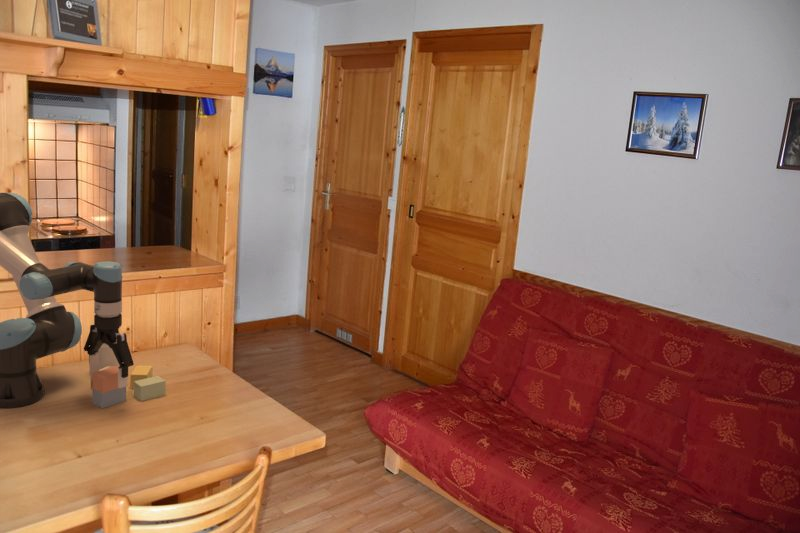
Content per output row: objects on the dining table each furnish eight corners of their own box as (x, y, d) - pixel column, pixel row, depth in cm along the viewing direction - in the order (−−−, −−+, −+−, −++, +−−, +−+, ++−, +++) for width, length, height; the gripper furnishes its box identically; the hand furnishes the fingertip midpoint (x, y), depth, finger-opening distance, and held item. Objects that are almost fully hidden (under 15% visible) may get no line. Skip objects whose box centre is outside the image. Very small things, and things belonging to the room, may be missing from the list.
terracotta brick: (92, 388, 197) (92, 373, 196) (115, 380, 204) (115, 365, 203) (103, 393, 195) (103, 377, 194) (126, 385, 202) (126, 370, 200)
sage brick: (133, 396, 206) (133, 381, 205) (157, 390, 212) (158, 375, 211) (140, 401, 203) (141, 386, 202) (165, 395, 208) (165, 380, 207)
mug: (119, 378, 218) (119, 346, 215) (90, 379, 215) (90, 347, 213) (124, 365, 229) (124, 334, 226) (96, 365, 226) (96, 335, 224)
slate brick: (92, 403, 198) (92, 388, 197) (116, 395, 205) (116, 380, 204) (102, 408, 196) (101, 393, 195) (126, 400, 202) (126, 385, 201)
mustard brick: (130, 389, 211) (130, 374, 210) (136, 379, 219) (136, 365, 217) (146, 389, 212) (146, 375, 210) (152, 379, 219) (152, 365, 218)
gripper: (70, 306, 197) (71, 372, 202) (124, 326, 185) (124, 395, 190) (93, 302, 204) (93, 366, 208) (146, 320, 191) (145, 388, 196)
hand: (108, 380), depth 199 cm, fingers open, 13 cm apart
